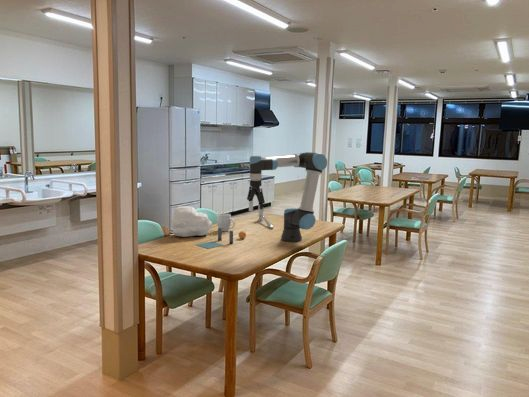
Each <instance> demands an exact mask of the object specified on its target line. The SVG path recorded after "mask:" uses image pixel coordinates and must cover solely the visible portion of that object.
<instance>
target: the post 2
mask: <svg viewBox="0 0 529 397" xmlns="http://www.w3.org/2000/svg"><path fill="white" fill-rule="evenodd" d="M228 231H229V232H228V233H229V234H228V236H229V239H228V241H229V243H228V244H229V245H233V244H234V230H228Z"/></svg>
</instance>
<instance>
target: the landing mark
mask: <svg viewBox="0 0 529 397" xmlns="http://www.w3.org/2000/svg"><path fill="white" fill-rule="evenodd" d="M195 246H198V247H201V248H204V249H207V250H208V249H213V248H219V247H223V246H224V244H222V243H218V242H215V241H207V242H202V243H201V242H200V243H196V244H195Z"/></svg>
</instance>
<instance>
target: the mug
mask: <svg viewBox="0 0 529 397" xmlns="http://www.w3.org/2000/svg"><path fill="white" fill-rule="evenodd" d="M216 224H217V229H218V228H222V231H225V232H228V231H230V230H231V229H234V228H235V225H236V222H235V220H234V218H232V215H231V213H223V212H222V213H217V214H216ZM231 224H232V226H231Z"/></svg>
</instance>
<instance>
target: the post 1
mask: <svg viewBox="0 0 529 397" xmlns="http://www.w3.org/2000/svg"><path fill="white" fill-rule="evenodd" d="M222 239H223V238H222V228H218V227H217V241H218V242H221V241H222Z"/></svg>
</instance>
